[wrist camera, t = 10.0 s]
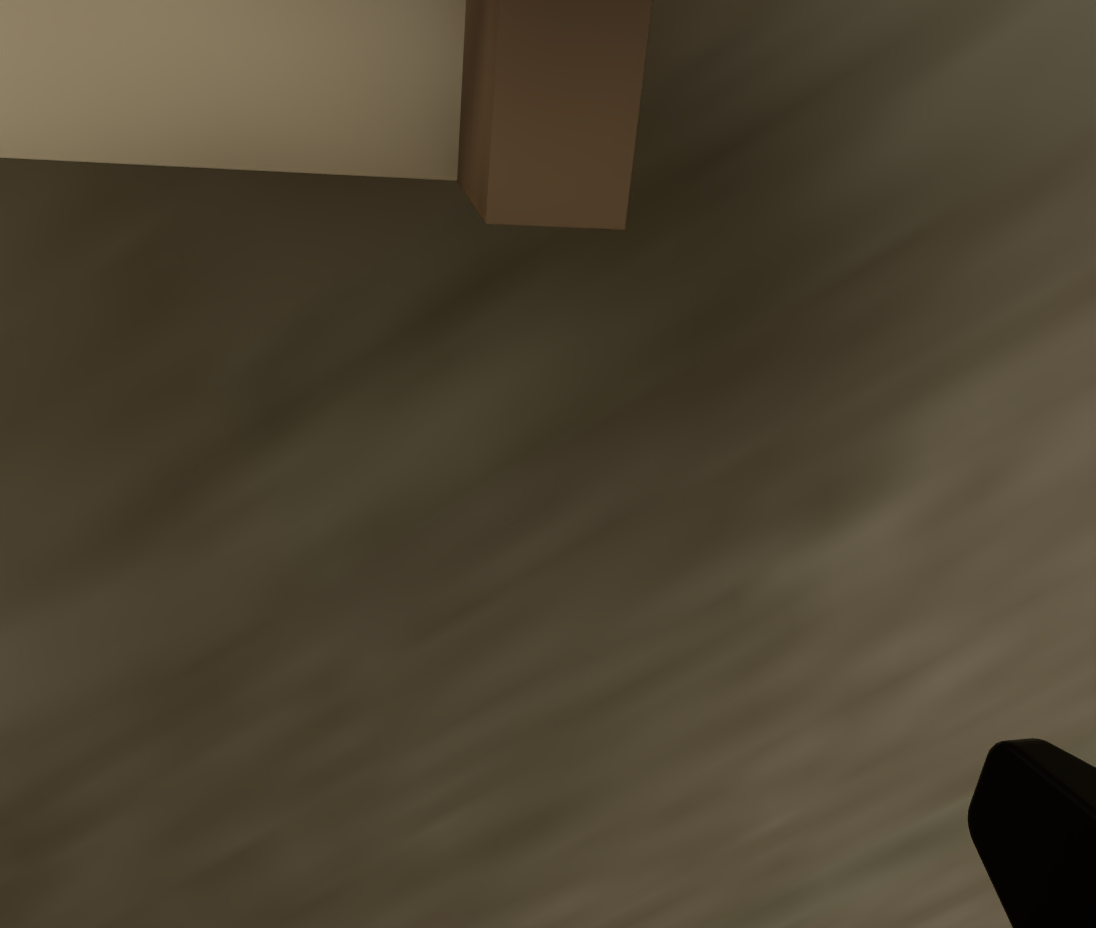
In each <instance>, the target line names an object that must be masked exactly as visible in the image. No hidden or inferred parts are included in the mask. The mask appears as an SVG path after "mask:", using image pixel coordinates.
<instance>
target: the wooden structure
mask: <svg viewBox="0 0 1096 928" xmlns="http://www.w3.org/2000/svg"><path fill="white" fill-rule="evenodd" d="M652 2H653V0H0V158H19V159H39V160H59V161H79V162H98V163H118V164H138V165H158V166H178V167H197V168H217V169H237V170H257V171H277V172H296V173H316V174H336V175H356V176H376V177H395V178H415V179H435V180H455V181H458V183H459V184H460V186H461V187H462V189H463V190H464V192H465V193H466V195H467V196H468V198H469V199H470V201H471V202H472V204H473V206H474V207H475V209H476V210H477V212H478V213H479V215H480V216H481V218H482V219H483V221H484V222H485V224H500V225H525V226H549V227H573V228H598V229H622V230H625V224H626V216H627V208H628V199H629V191H630V183H631V175H632V166H633V158H634V150H635V142H636V133H637V125H638V117H639V109H640V101H641V92H642V84H643V76H644V68H645V59H646V51H647V43H648V35H649V27H650V18H651V10H652Z"/></svg>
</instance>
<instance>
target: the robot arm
mask: <svg viewBox="0 0 1096 928" xmlns="http://www.w3.org/2000/svg"><path fill="white" fill-rule="evenodd" d="M968 826H969V830H970V834H971V838H972V840H973V843H974V845H975V847H976V849H977V851H978V854H979V856H980V858H981V860H982V862H983V864H984V867H985V869H986V871H987V873H988V875H989V877H990V880H991V882H992V884H993V886H994V888H995V890H996V893H997V895H998V897H999V899H1000V901H1001V903H1002V906H1003V908H1004V910H1005V912H1006V914H1007V916H1008V919H1009V921H1010V923H1011V925H1012V927H1013V928H1096V768H1095V767H1094V766H1092V765H1090V764H1088V763H1086V762H1084V761H1082V760H1081V759H1079V758H1077V757H1075V756H1073V755H1071V754H1069V753H1068V752H1066V751H1064V750H1062V749H1060V748H1058V747H1056V746H1055V745H1053V744H1051V743H1049V742H1047V741H1045V740H1041V739H1034V738H1031V739H1019V740H1007V741H1001V742H998V743H996V744H995V745H994V746H993V747H992V748H991V749H990V750H989V752H988V754H987V757H986V760H985V763H984V766H983V769H982V771H981V774H980V777H979V780H978V783H977V786H976V789H975V791H974V794H973V797H972V800H971V803H970V806H969V810H968Z"/></svg>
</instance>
